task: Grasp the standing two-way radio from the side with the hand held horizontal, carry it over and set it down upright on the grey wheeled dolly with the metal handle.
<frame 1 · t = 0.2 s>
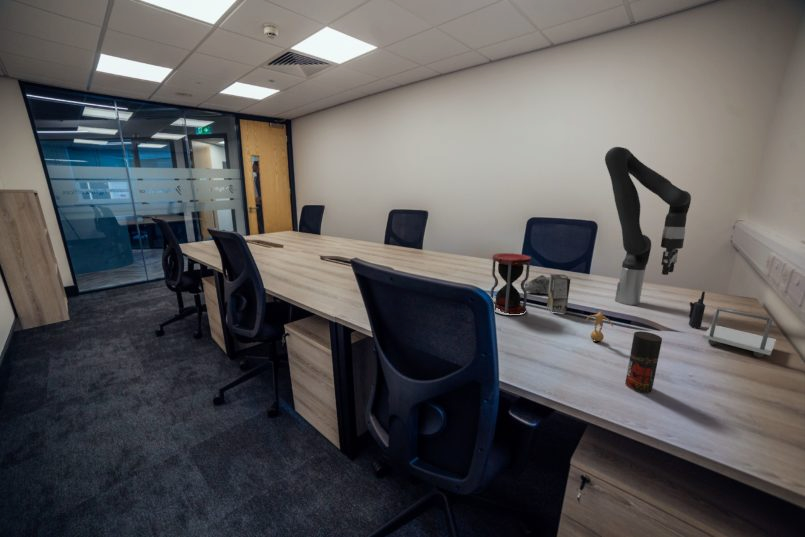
hand: (667, 273, 144), 17 cm above the table, tool pointing down, fingers open, 8 cm apart
deodorant: (638, 387, 88), on the table
hourglass: (507, 310, 147), on the table
mineral rock: (537, 293, 173), on the table
coffee box: (556, 311, 146), on the table
two-way radio: (692, 326, 129), on the table
dolly: (736, 346, 112), on the table
figurine: (595, 342, 115), on the table
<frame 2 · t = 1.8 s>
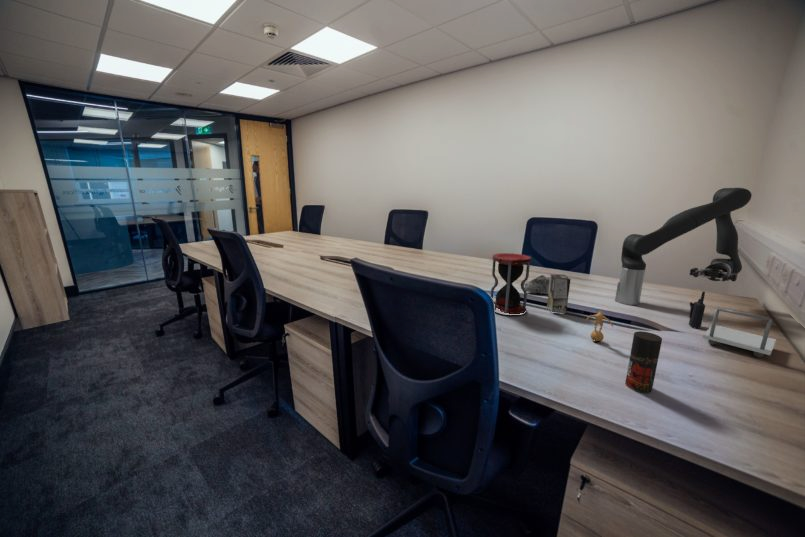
hand: (709, 276, 132), 19 cm above the table, tool horizontal, fingers open, 8 cm apart
nothing on the table moved.
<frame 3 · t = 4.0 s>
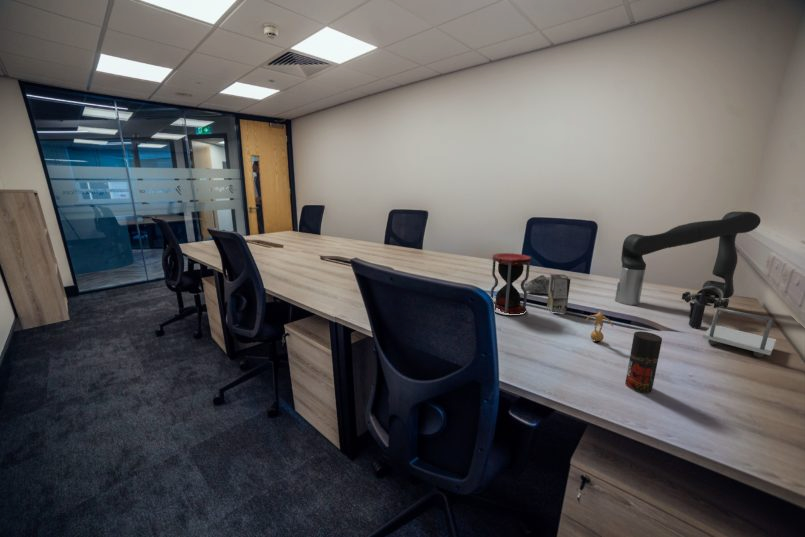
hand: (701, 302, 131), 9 cm above the table, tool horizontal, fingers open, 8 cm apart
nothing on the table moved.
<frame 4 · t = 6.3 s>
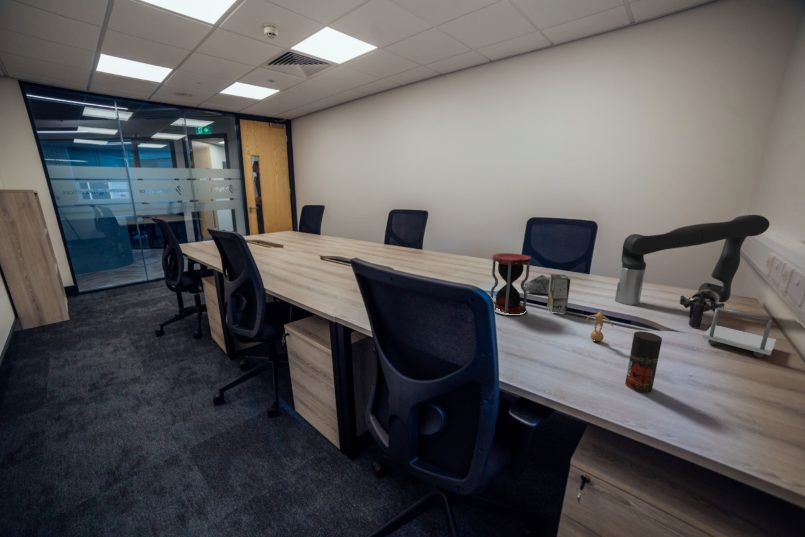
hand: (695, 307, 126), 9 cm above the table, tool horizontal, fingers closed on two-way radio, 4 cm apart
two-way radio: (692, 326, 129), on the table, touching gripper
everything else where it was.
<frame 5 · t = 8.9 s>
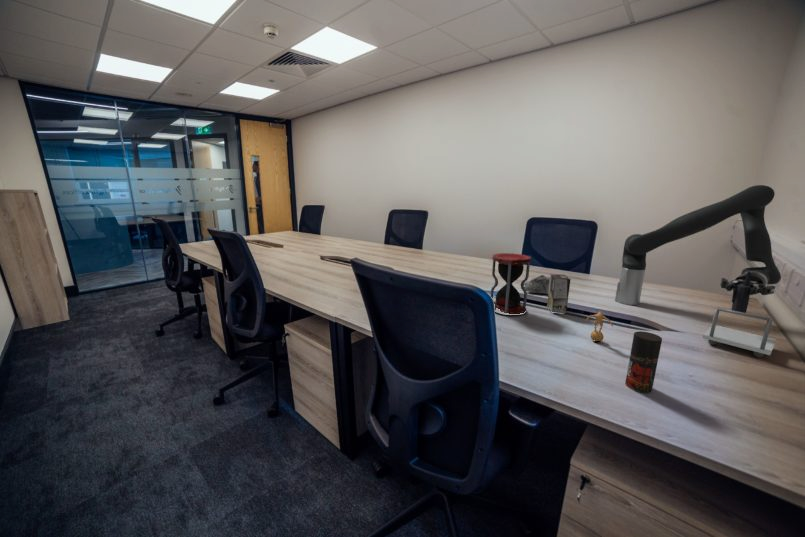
hand: (740, 290, 110), 20 cm above the table, tool horizontal, fingers closed on two-way radio, 4 cm apart
two-way radio: (735, 312, 113), point 11 cm above the table, touching gripper
everything else where it was.
when the fingers open (13 cm above the table, at t = 11.3 s): two-way radio stays where it is, resting on dolly.
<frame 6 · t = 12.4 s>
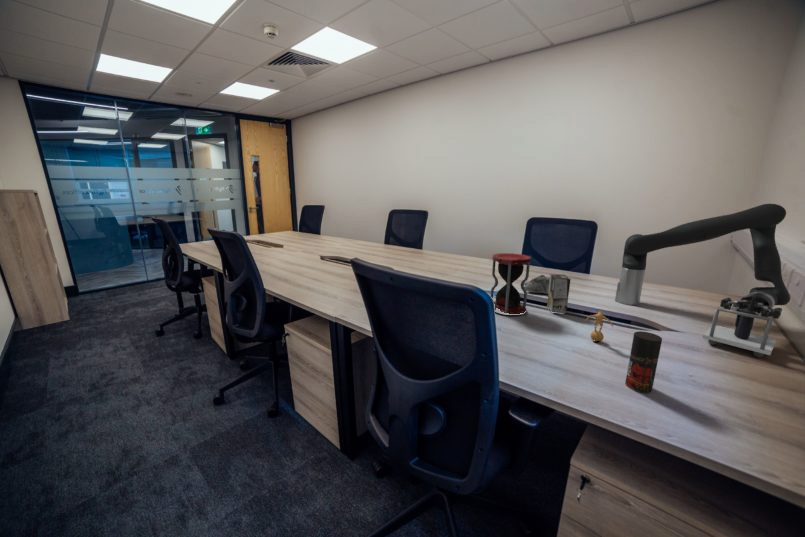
hand: (744, 311, 109), 13 cm above the table, tool horizontal, fingers open, 8 cm apart
two-way radio: (738, 337, 111), point 3 cm above the table, touching dolly
everything else where it was.
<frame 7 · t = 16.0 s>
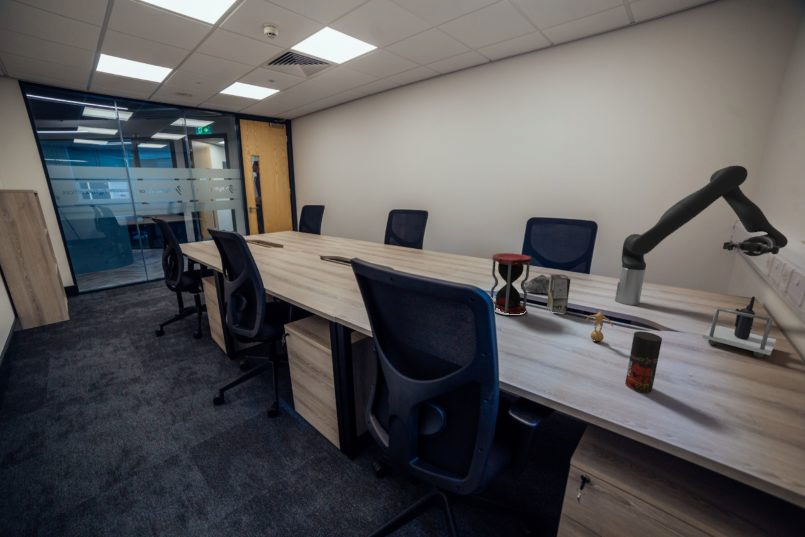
hand: (745, 249, 118), 32 cm above the table, tool horizontal, fingers open, 8 cm apart
at the end: two-way radio inside the target area on the dolly (0.3 cm from its centre), point 3.4 cm above the dolly's base; two-way radio tilted 0°; the gripper is holding nothing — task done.
